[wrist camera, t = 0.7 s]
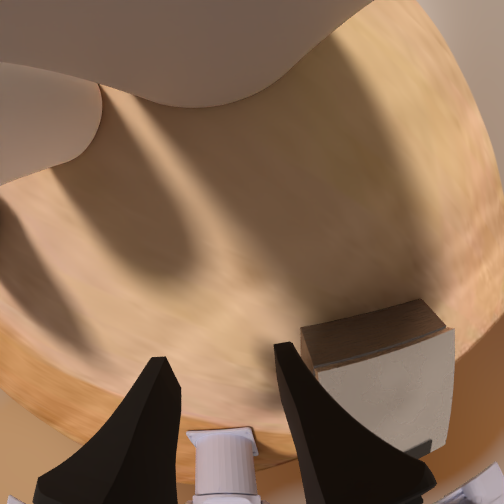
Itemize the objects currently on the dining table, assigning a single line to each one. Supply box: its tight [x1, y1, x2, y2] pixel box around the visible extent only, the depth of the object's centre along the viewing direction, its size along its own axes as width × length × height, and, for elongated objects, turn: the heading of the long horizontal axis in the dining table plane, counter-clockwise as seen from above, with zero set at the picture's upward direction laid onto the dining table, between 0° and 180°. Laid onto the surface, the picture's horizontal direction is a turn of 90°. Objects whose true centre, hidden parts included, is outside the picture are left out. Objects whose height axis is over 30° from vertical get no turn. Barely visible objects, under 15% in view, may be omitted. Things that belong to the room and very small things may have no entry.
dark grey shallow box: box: [300, 299, 446, 376], centre depth 22 cm, size 12×12×4 cm
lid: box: [315, 327, 455, 459], centre depth 16 cm, size 12×12×1 cm
